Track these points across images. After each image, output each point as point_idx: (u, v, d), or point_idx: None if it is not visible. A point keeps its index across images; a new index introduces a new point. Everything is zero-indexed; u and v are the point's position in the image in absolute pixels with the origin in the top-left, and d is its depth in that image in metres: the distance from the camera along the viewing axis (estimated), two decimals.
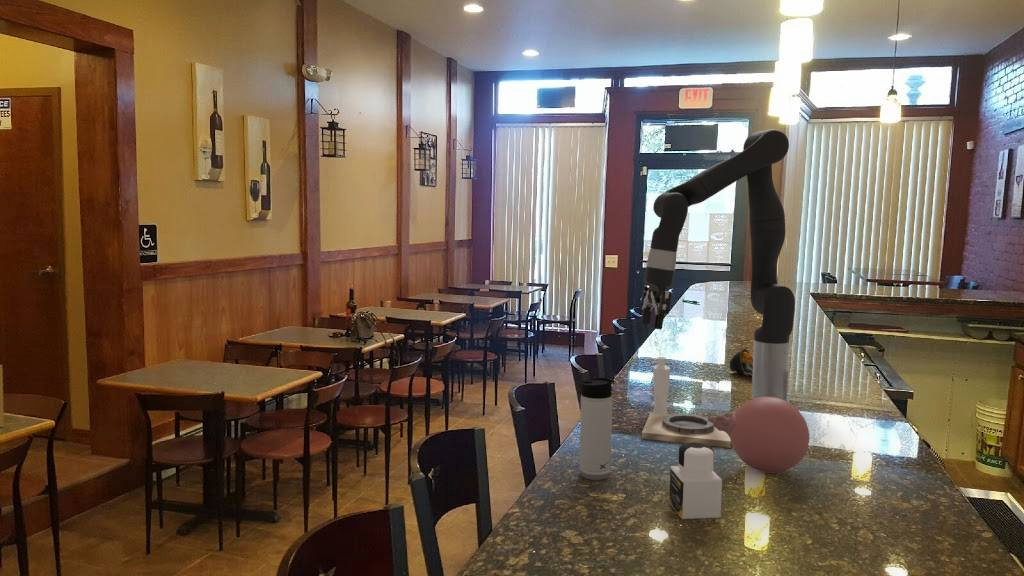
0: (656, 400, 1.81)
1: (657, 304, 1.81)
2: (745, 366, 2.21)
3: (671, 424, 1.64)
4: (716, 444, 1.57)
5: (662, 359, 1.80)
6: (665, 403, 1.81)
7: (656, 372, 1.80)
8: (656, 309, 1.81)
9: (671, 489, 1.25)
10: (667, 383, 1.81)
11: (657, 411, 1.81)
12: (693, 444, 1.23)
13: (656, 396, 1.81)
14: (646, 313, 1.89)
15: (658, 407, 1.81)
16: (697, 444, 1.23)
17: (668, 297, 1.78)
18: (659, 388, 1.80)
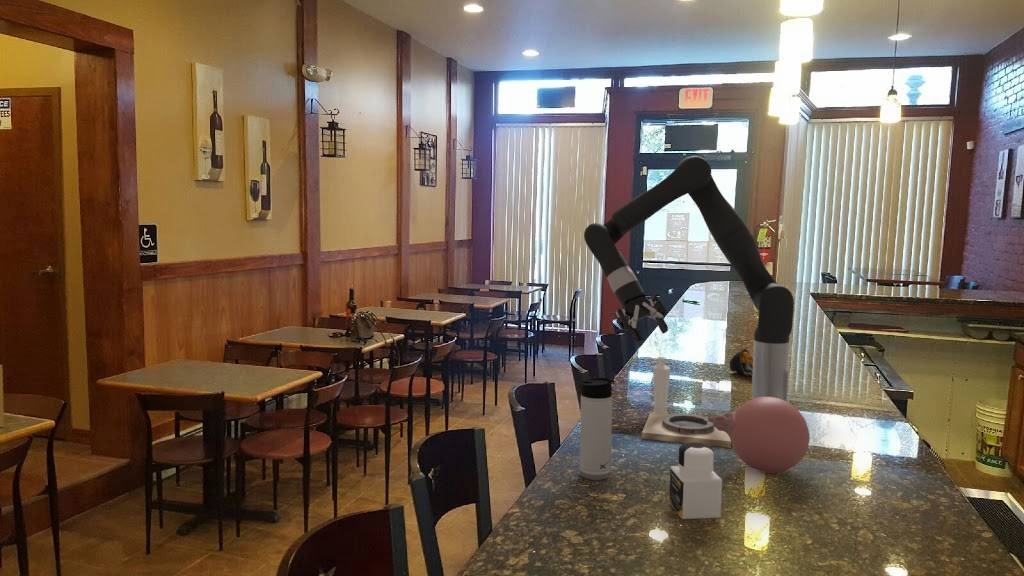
0: (656, 400, 1.81)
1: (629, 322, 1.88)
2: (745, 366, 2.21)
3: (671, 424, 1.64)
4: (716, 444, 1.57)
5: (662, 359, 1.80)
6: (665, 403, 1.81)
7: (656, 372, 1.80)
8: None
9: (671, 489, 1.25)
10: (667, 383, 1.81)
11: (657, 411, 1.81)
12: (693, 444, 1.23)
13: (656, 396, 1.81)
14: (659, 323, 1.90)
15: (658, 407, 1.81)
16: (697, 444, 1.23)
17: (618, 315, 1.87)
18: (659, 388, 1.80)
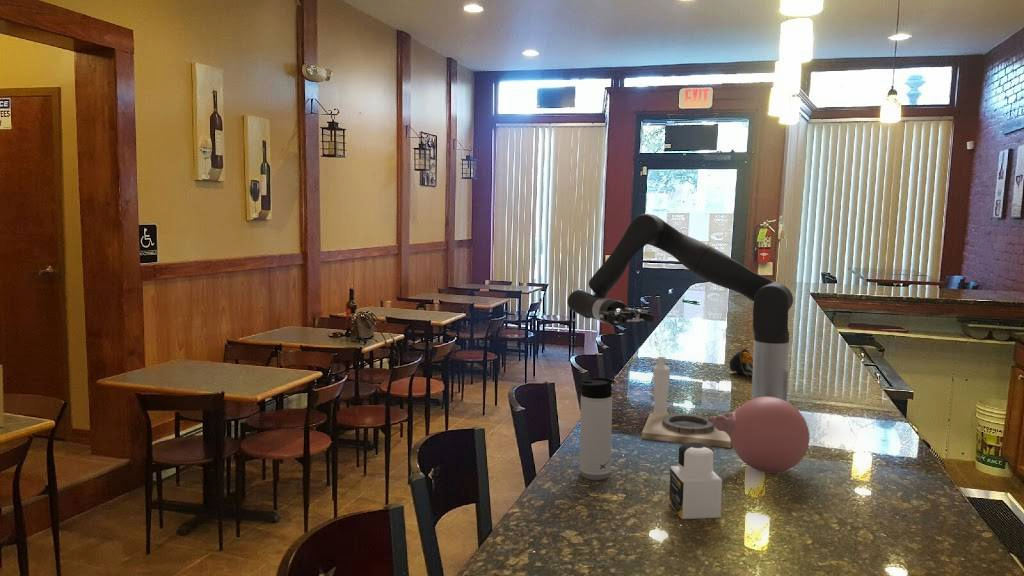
0: (656, 400, 1.81)
1: None
2: (745, 366, 2.21)
3: (671, 424, 1.64)
4: (716, 444, 1.57)
5: (662, 359, 1.80)
6: (665, 403, 1.81)
7: (656, 372, 1.80)
8: None
9: (671, 489, 1.25)
10: (667, 383, 1.81)
11: (657, 411, 1.81)
12: (693, 444, 1.23)
13: (656, 396, 1.81)
14: (645, 317, 1.95)
15: (658, 407, 1.81)
16: (697, 444, 1.23)
17: (601, 314, 1.96)
18: (659, 388, 1.80)
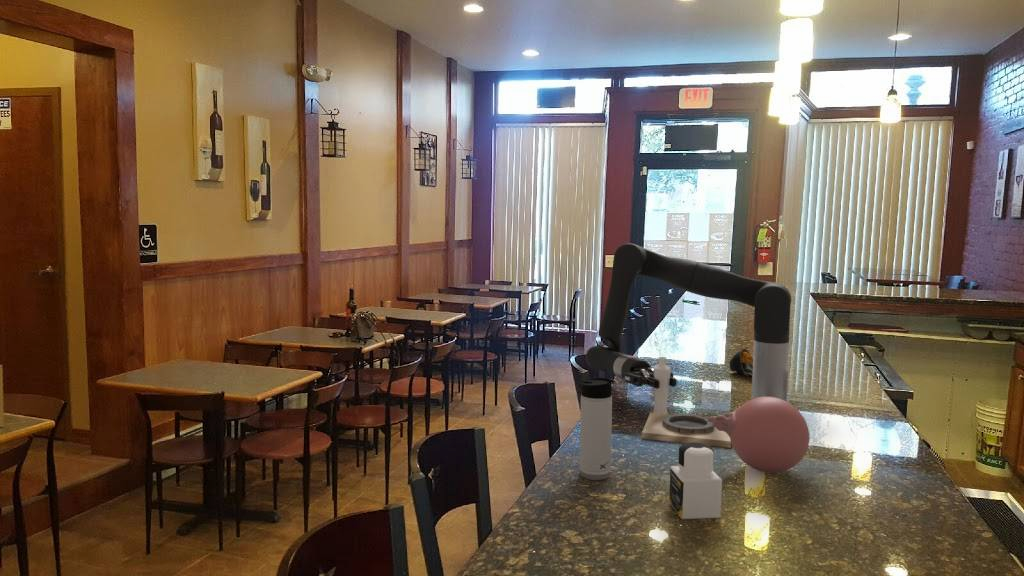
0: (656, 400, 1.81)
1: None
2: (745, 366, 2.21)
3: (671, 424, 1.64)
4: (716, 444, 1.57)
5: (663, 359, 1.80)
6: (665, 403, 1.81)
7: (656, 372, 1.80)
8: None
9: (671, 489, 1.25)
10: (667, 383, 1.81)
11: (657, 411, 1.81)
12: (693, 444, 1.23)
13: (656, 396, 1.81)
14: None
15: (658, 407, 1.81)
16: (697, 444, 1.23)
17: (628, 376, 1.85)
18: (659, 388, 1.80)
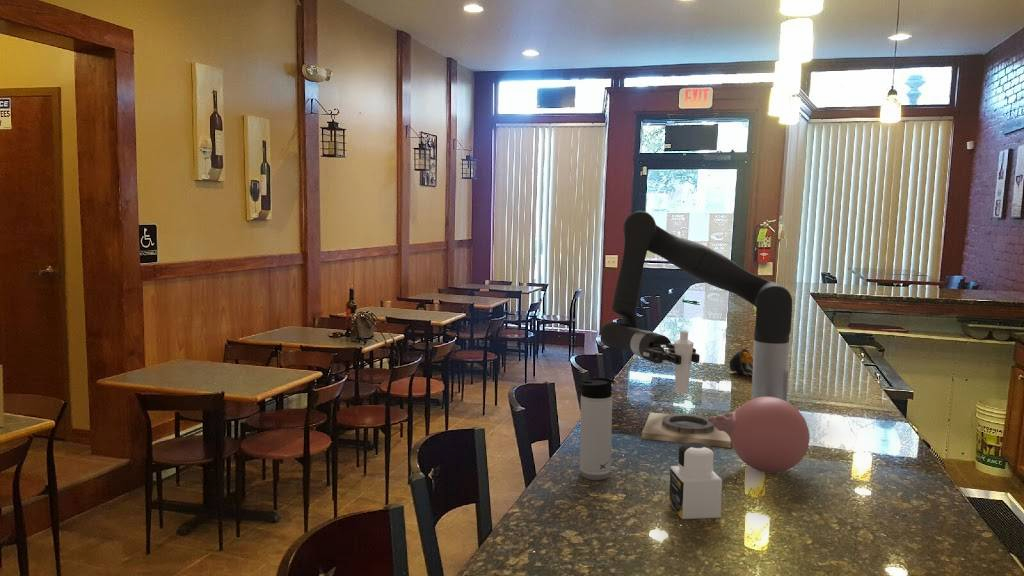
0: (677, 377, 1.68)
1: None
2: (745, 366, 2.21)
3: (671, 424, 1.64)
4: (716, 444, 1.57)
5: (685, 333, 1.67)
6: (687, 381, 1.68)
7: (678, 347, 1.67)
8: None
9: (671, 489, 1.25)
10: (690, 359, 1.67)
11: (678, 389, 1.68)
12: (693, 444, 1.23)
13: (677, 373, 1.68)
14: None
15: (679, 385, 1.68)
16: (697, 444, 1.23)
17: (647, 352, 1.71)
18: (680, 364, 1.67)
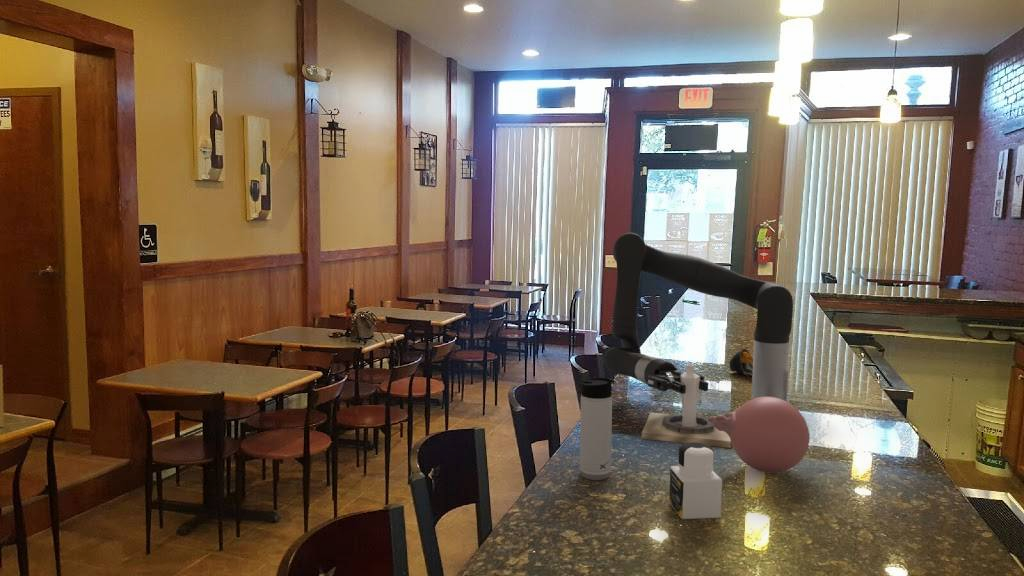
0: (684, 411, 1.65)
1: None
2: (745, 366, 2.21)
3: (671, 424, 1.64)
4: (716, 444, 1.57)
5: (691, 366, 1.64)
6: (694, 414, 1.66)
7: (684, 381, 1.64)
8: None
9: (671, 489, 1.25)
10: (696, 393, 1.65)
11: (686, 423, 1.66)
12: (693, 444, 1.23)
13: (684, 407, 1.65)
14: None
15: (687, 419, 1.65)
16: (697, 444, 1.23)
17: (651, 380, 1.69)
18: (687, 398, 1.65)
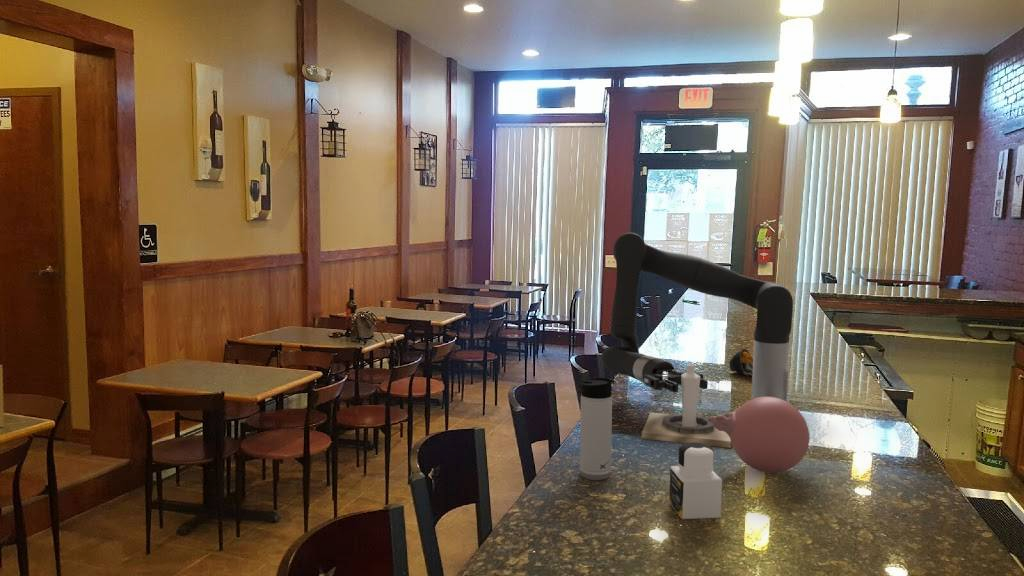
0: (685, 411, 1.65)
1: None
2: (745, 366, 2.21)
3: (671, 424, 1.64)
4: (716, 444, 1.57)
5: (691, 366, 1.64)
6: (694, 415, 1.66)
7: (685, 381, 1.64)
8: None
9: (671, 489, 1.25)
10: (697, 393, 1.65)
11: (686, 423, 1.66)
12: (693, 444, 1.23)
13: (685, 407, 1.65)
14: None
15: (687, 419, 1.65)
16: (697, 444, 1.23)
17: (646, 378, 1.70)
18: (687, 398, 1.65)
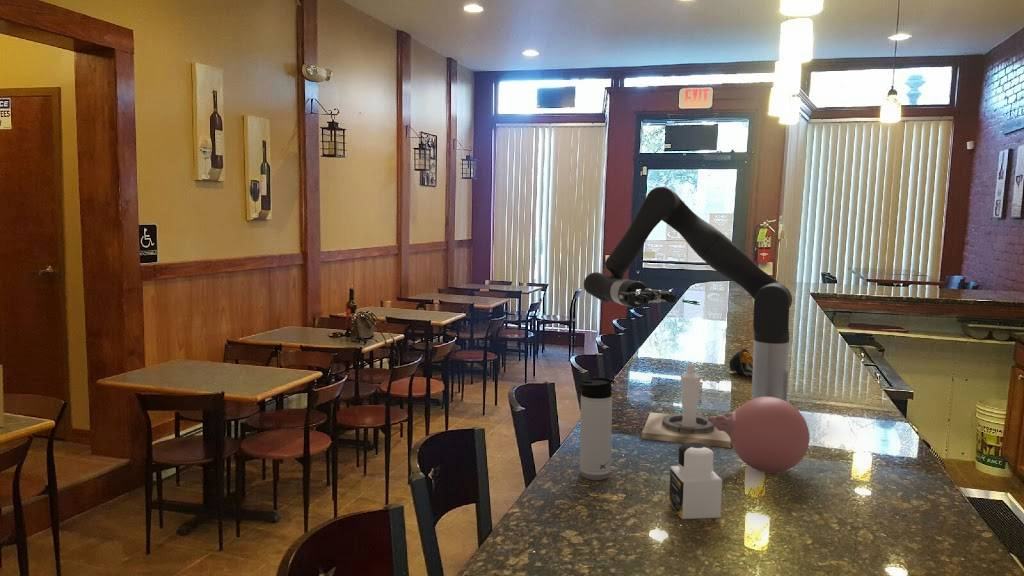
0: (685, 411, 1.65)
1: None
2: (745, 366, 2.21)
3: (671, 424, 1.64)
4: (716, 444, 1.57)
5: (691, 366, 1.64)
6: (694, 415, 1.66)
7: (685, 381, 1.64)
8: None
9: (671, 489, 1.25)
10: (697, 393, 1.65)
11: (686, 423, 1.66)
12: (693, 444, 1.23)
13: (685, 407, 1.65)
14: (667, 298, 1.86)
15: (687, 419, 1.65)
16: (697, 444, 1.23)
17: (621, 295, 1.88)
18: (687, 398, 1.65)
